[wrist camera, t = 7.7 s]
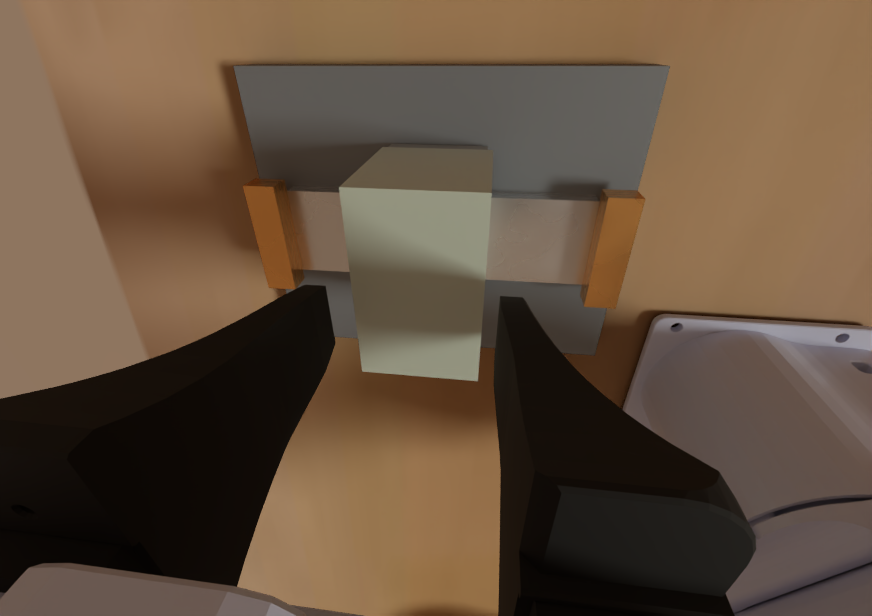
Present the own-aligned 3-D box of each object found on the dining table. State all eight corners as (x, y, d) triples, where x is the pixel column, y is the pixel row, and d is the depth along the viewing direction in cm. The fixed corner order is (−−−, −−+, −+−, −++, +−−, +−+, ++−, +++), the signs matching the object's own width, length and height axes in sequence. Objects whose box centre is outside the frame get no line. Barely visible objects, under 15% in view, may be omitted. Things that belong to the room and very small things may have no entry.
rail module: (493, 146, 15) (491, 192, 10) (482, 295, 19) (477, 381, 14) (386, 143, 16) (339, 187, 11) (395, 290, 19) (362, 371, 14)
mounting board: (658, 64, 14) (670, 66, 13) (590, 340, 21) (594, 355, 20) (249, 64, 16) (233, 65, 15) (304, 320, 22) (295, 334, 21)
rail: (630, 183, 15) (645, 199, 14) (605, 286, 18) (615, 308, 16) (265, 173, 17) (242, 185, 15) (286, 268, 19) (268, 288, 18)
